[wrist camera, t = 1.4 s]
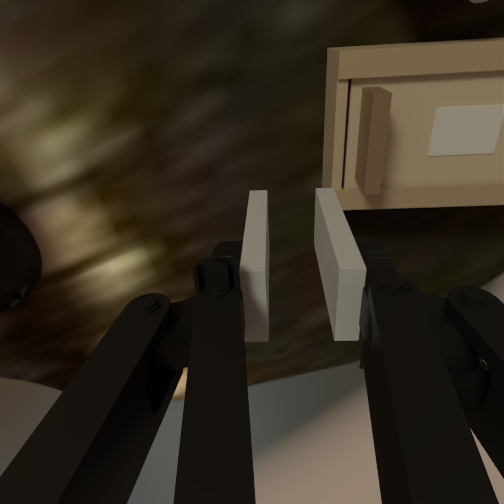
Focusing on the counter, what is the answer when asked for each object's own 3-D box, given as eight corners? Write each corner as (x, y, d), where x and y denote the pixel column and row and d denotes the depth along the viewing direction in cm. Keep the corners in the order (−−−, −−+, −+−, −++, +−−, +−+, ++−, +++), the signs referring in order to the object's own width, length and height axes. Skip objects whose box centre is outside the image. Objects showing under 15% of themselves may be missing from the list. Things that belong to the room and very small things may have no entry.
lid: (342, 193, 32) (351, 212, 29) (351, 66, 27) (363, 71, 24) (510, 187, 31) (539, 205, 28) (549, 54, 27) (591, 58, 23)
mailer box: (322, 185, 37) (331, 210, 32) (327, 48, 32) (339, 50, 26) (489, 178, 36) (527, 203, 31) (527, 35, 30) (583, 36, 25)
